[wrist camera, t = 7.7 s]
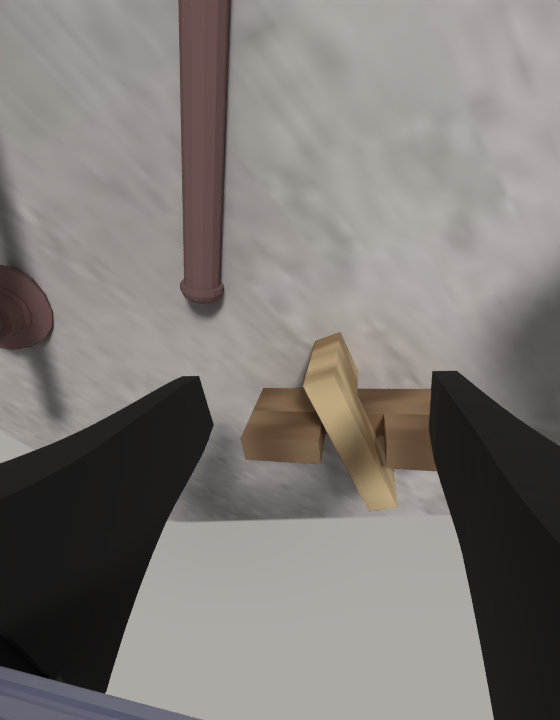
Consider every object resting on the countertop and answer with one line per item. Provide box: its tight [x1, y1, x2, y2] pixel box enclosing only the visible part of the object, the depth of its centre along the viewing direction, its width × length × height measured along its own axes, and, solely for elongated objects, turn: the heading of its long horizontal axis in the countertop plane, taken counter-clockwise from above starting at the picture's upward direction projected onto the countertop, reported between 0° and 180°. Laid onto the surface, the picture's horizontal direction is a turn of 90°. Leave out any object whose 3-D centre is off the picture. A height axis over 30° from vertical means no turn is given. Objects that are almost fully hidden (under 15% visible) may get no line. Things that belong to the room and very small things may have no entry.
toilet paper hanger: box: [0, 0, 230, 349], centre depth 16 cm, size 28×7×17 cm
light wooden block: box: [303, 333, 397, 511], centre depth 20 cm, size 9×2×5 cm, turn 27°
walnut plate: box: [241, 388, 437, 471], centre depth 20 cm, size 12×2×5 cm, turn 97°
